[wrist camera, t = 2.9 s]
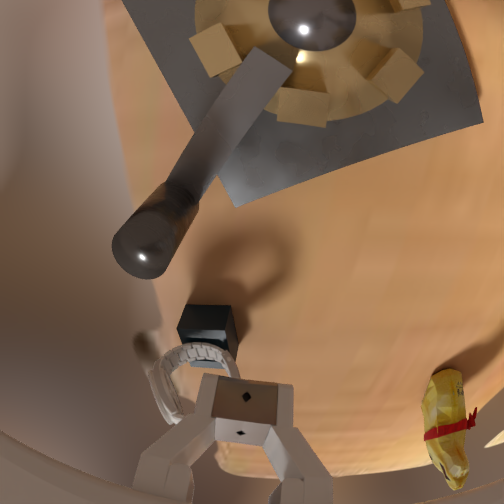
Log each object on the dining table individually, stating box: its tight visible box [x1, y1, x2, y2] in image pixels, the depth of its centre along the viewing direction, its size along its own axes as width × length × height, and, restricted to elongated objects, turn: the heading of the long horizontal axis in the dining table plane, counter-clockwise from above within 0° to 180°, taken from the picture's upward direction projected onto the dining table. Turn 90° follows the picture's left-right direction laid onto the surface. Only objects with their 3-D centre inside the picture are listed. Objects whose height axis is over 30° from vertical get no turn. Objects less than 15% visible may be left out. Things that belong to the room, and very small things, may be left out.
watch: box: [148, 305, 241, 424], centre depth 26 cm, size 6×8×11 cm
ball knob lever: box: [112, 0, 431, 279], centre depth 12 cm, size 19×11×9 cm, turn 146°
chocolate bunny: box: [421, 368, 477, 490], centre depth 27 cm, size 7×11×15 cm, turn 12°
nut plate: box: [122, 0, 484, 208], centre depth 15 cm, size 18×18×2 cm
